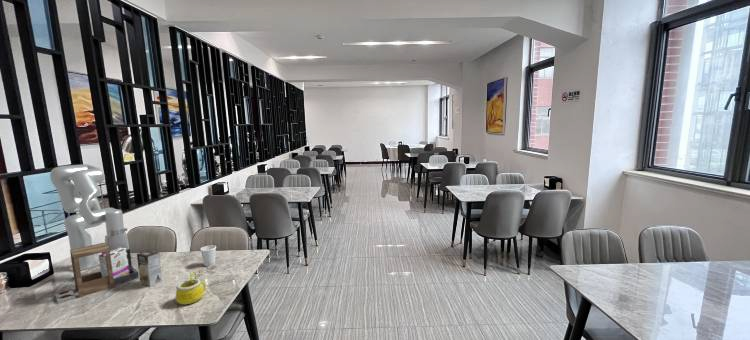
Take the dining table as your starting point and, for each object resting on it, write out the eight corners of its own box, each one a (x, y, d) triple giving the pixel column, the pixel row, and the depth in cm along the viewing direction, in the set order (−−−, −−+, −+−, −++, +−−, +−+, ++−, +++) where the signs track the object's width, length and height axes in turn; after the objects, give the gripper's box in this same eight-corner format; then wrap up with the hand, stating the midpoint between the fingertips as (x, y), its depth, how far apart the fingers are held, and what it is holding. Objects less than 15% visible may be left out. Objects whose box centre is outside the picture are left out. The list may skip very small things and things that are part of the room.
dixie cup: (220, 263, 190) (219, 246, 188) (206, 268, 183) (205, 251, 182) (212, 260, 194) (211, 244, 193) (198, 265, 187) (197, 248, 186)
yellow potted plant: (184, 308, 140) (182, 282, 139) (171, 302, 146) (169, 277, 145) (212, 295, 151) (210, 271, 149) (199, 290, 157) (197, 266, 155)
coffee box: (139, 283, 166) (135, 253, 164) (152, 278, 172) (149, 249, 170) (150, 286, 162) (146, 256, 160) (163, 281, 168) (159, 251, 166)
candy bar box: (123, 276, 175) (119, 247, 173) (130, 277, 174) (127, 247, 172) (102, 286, 164) (97, 255, 162) (110, 287, 163) (106, 256, 161)
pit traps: (55, 295, 156) (54, 293, 156) (72, 290, 160) (71, 288, 160) (57, 303, 148) (57, 301, 148) (75, 298, 152) (75, 295, 152)
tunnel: (75, 289, 162) (69, 249, 159) (109, 280, 172) (104, 242, 169) (79, 297, 153) (73, 255, 151) (114, 287, 163) (109, 247, 161)
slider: (93, 278, 173) (90, 256, 172) (130, 268, 185) (128, 247, 184) (100, 288, 161) (97, 265, 159) (139, 277, 173) (137, 255, 171)
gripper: (131, 227, 185) (134, 258, 188) (97, 233, 175) (100, 266, 177) (133, 230, 180) (136, 262, 182) (98, 237, 170) (102, 270, 172)
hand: (119, 264), depth 180 cm, fingers closed
